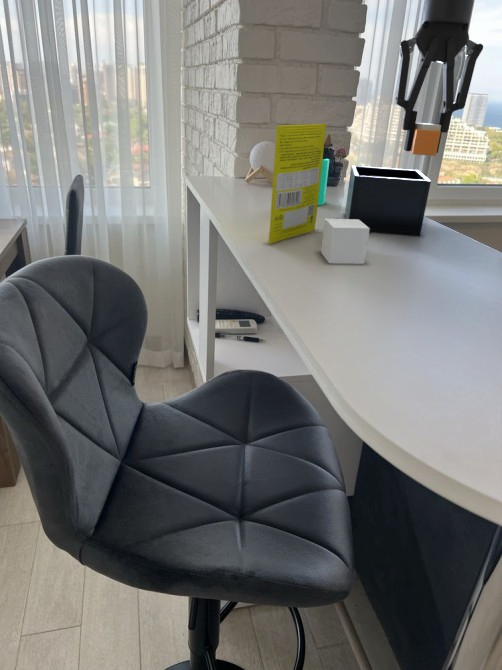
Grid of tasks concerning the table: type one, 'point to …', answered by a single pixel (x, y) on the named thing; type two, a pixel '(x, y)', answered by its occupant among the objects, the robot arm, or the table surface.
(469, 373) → the table surface
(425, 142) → the orange and grey block
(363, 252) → the white cube
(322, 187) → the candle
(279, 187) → the food package
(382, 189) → the black open storage box
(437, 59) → the robot arm
